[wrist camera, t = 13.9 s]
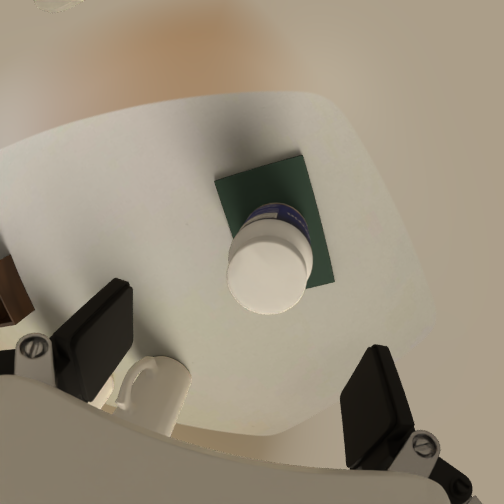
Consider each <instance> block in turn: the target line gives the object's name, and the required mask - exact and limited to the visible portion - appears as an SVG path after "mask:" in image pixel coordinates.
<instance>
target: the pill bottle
mask: <svg viewBox="0 0 504 504" xmlns="http://www.w3.org/2000/svg"><path fill="white" fill-rule="evenodd" d="M228 261H229V265H228V269H227V283H228V287H229V290H230V292H231V294H232V295H233V297H234V298H235V300H236V301H237V302H238V303H239V304H241V305H242V306H243V307H245V308H246V309H248V310H250V311H252V312H255V313H259V314H277V313H281V312H284V311H286V310H288V309H290V308H291V307H293V306H294V305H295V304H296V303H297V302H298V301H299V300H300V298H301V297H302V295H303V293H304V291H305V288H306V283H307V280H308V278H309V276H310V274H311V270H312V265H313V254H312V248H311V242H310V236H309V230H308V226H307V223H306V221H305V219H304V218H303V216H302V215H301V214H300V213H299V212H298V211H297V210H296V209H295V208H293V207H291V206H289V205H287V204H283V203H269V204H265V205H262V206H260V207H259V208H257V209H256V210H255V211H253V212H252V213H251V214H250V216H249V217H248V218H247V220H246V221H245V223H244V224H243V226H242V227H241V228H240V230H239V231H238V233H237V234H236V236H235V237H234V239H233V241H232V244H231V246H230V250H229V257H228Z"/></svg>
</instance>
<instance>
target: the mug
mask: <svg viewBox="0 0 504 504" xmlns="http://www.w3.org/2000/svg"><path fill="white" fill-rule="evenodd" d="M140 372H141V373H140ZM139 373H140V374H139ZM138 374H139V376H138V377H137V379H136V380H135V382H134V383H133V381H134V379H135V378H136V376H137V375H138ZM132 384H133V385H132ZM190 385H191V375H190V373H189V371H188V370H187V369H186V367H185V366H183V365H182V364H181V363H180V362H178V361H176V360H175V359H172V358H170V357H165V356H156V357H149V356H146V357H144V358H143V359H141V360H139V361H138V362H136V363H135V364H134V365H133V366H132V367H131V368H130V369H129V370H128V372H127V374H126V376H125V378H124V380H123V382H122V385H121V388H120V391H119V395H118V398H117V399H116V401H115V402H116V404H117V405H118V407H117V408H116V410H115V411H114V413H113V414H112V415H114V416H116V417H119V418H121V419H123V420H126V421H128V422H131V423H133V424H136V425H138V426H141V427H143V428H146V429H149V430H151V431H154V432H157V433H160V434H162V435H165V436H168V437H170V436H171V433H172V431H173V428H174V426H175V423H176V421H177V418H178V416H179V413H180V411H181V408H182V406H183V403H184V401H185V398H186V396H187V393H188V390H189V388H190Z"/></svg>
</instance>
